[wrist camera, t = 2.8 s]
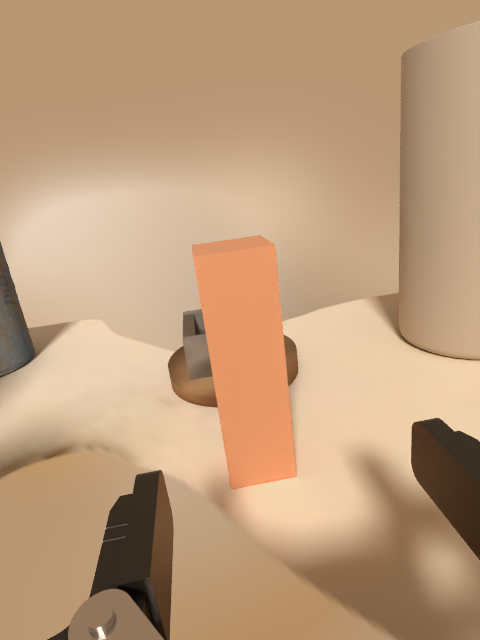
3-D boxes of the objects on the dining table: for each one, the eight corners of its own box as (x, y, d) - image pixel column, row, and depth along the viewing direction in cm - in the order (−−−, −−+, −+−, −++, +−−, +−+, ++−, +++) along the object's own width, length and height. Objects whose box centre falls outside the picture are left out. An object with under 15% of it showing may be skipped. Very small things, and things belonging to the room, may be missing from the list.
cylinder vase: (387, 317, 46) (386, 71, 38) (505, 309, 44) (532, 47, 36) (417, 367, 34) (427, 27, 26) (579, 359, 32) (645, -13, 24)
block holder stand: (169, 418, 32) (156, 355, 30) (173, 357, 43) (164, 309, 41) (314, 392, 33) (310, 330, 31) (281, 339, 44) (277, 291, 42)
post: (231, 489, 24) (193, 256, 19) (225, 447, 27) (191, 245, 23) (296, 476, 24) (274, 244, 19) (281, 437, 28) (260, 235, 23)
